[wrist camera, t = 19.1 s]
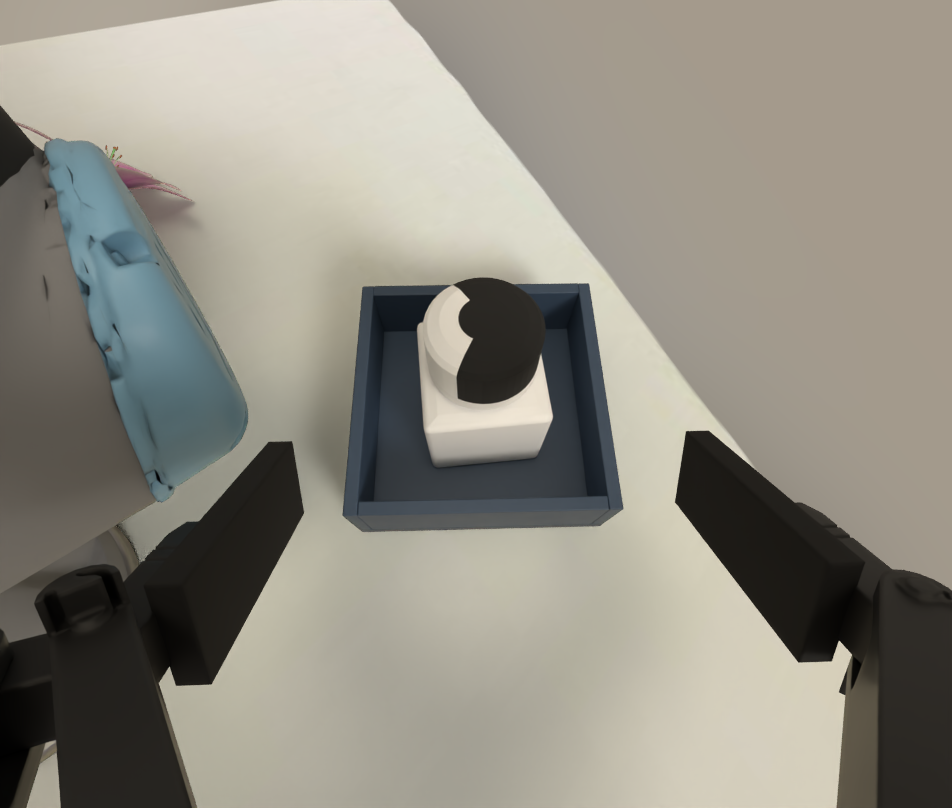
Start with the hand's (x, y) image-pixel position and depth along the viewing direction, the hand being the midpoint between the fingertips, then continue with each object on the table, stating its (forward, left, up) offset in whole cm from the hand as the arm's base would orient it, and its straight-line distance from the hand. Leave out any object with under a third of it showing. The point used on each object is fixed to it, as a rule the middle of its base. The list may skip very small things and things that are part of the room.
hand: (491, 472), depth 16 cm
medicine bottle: (-3, +8, -16) cm, 18 cm away
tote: (-3, +8, -16) cm, 18 cm away
